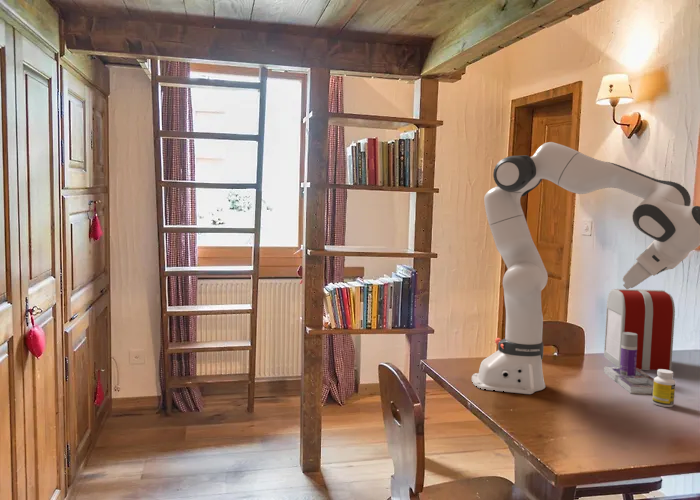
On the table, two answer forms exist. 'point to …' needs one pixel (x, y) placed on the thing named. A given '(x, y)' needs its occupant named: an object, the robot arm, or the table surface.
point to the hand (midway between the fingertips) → (635, 280)
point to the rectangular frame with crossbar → (631, 380)
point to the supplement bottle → (664, 388)
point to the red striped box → (641, 326)
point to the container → (628, 354)
